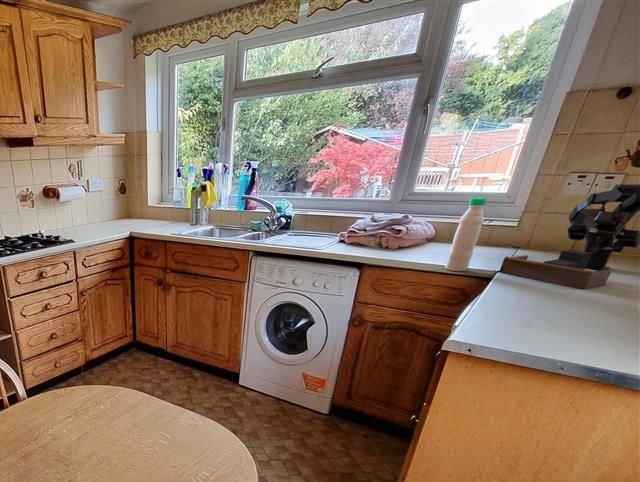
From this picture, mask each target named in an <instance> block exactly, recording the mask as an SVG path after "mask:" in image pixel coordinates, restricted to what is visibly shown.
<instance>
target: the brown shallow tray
mask: <svg viewBox="0 0 640 482" xmlns="http://www.w3.org/2000/svg"><path fill="white" fill-rule="evenodd" d="M528 258H529V255H525V254H524V255H518V256H517V255H516V256H505V257H504V258H503V260H502V263H501V266H500V268H499V271H498V273H501V274H506V275H510V276H516V277H521V278H525V279H531V280H535V281H541V282H545V283H550V284H555V285H559V286H560V285H561V286H565V287H571V288H576V289H580V290H586V289H591V288H596V287H602V286H606V283H607V281H608V279H609V278H610V275H611V274H612V272H613V269H611V268H607V269H602V270H594V271H593V270H588V269H585V270H582V269H577V268H571V267H565V266H559V265H553V264H547V263H544V262H541V261H536V260H529V259H528Z"/></svg>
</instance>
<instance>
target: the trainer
mask: <svg viewBox="0 0 640 482" xmlns="http://www.w3.org/2000/svg"><path fill="white" fill-rule="evenodd" d="M584 251H585V250H584ZM584 251H583V250H576V249H565V250H561V251H560V254H559V256H558V258H557V259H551V260H545V261H543V263H547V264H553V265H559V266H565V267H571V268H577V269H582V270H586V268H585V267H586V265H587V263H588V261H589V259H590V257H591V255H592V253H591V252H584Z"/></svg>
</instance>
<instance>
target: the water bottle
mask: <svg viewBox="0 0 640 482" xmlns="http://www.w3.org/2000/svg"><path fill="white" fill-rule="evenodd" d="M487 200H488V199H487V198H485V197H472V198H470V200H469V201H468V209H467V210H466V211H465V212H464V214H463V215H462V216H461V217H460V219H459V221H458V226H457V228H456V231H455V234H454V237H453V240H452V244H451V248H450V250H449V253H448V257H447V260H446V262H445V264H444V265H445V266H444V269H445V270H447V271H451V272H467V270H468V268H469V267H470V261H471V258H472V257H473V254H474V249H475V247H476V244H477V242H478V239H479V236H480V233H481V229H482V227H483V224H484V221H485V217H484V211H483V208H484V207H485V206H486V204H487Z"/></svg>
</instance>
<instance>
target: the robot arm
mask: <svg viewBox="0 0 640 482" xmlns="http://www.w3.org/2000/svg"><path fill="white" fill-rule="evenodd" d="M608 203H619V204H618V205H617V206H616V207H615V208H614V209H613V210H612V211H606V207H605V206H606V205H607V204H608ZM591 205H602V206H601V207H600V208H588V207H590V206H591ZM639 212H640V183H635V184H634V183H621V184H617V185H615V186H613V187H612V189H610V190H605V191H600V192H594V193H591V194H590V195H589V196H588V197H587V198H586V199H584V200H583V201H581V202H580V203H578V204H577V205H575V207H574V208H573V209H572V210H571V212H570V214H569V215H568V221H569V224H571V225H570V226H569V227H568V228H567V235H568V239H569V240H572V241H582V240H584V239H585V244H584V252H591V253H592V255H591V257H590V259H589V261H588V263H587V265H586V267H585V269H591V270H596V271H599V270H604V269H611V268H610V266H608V265H607V264H608V262H609V261H610V258H611V256H612V254H613V253H621V252H622V251H623V250H624V248H625V247H626V248H633V249H636V248H638V247H639V245H640V229H639V230H637V229H631V228H630V229H629V228H627V224H628V223H629V222H630V221H632V219H633V218H634V217H635V216H636V215H637V214H638V213H639Z"/></svg>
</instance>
